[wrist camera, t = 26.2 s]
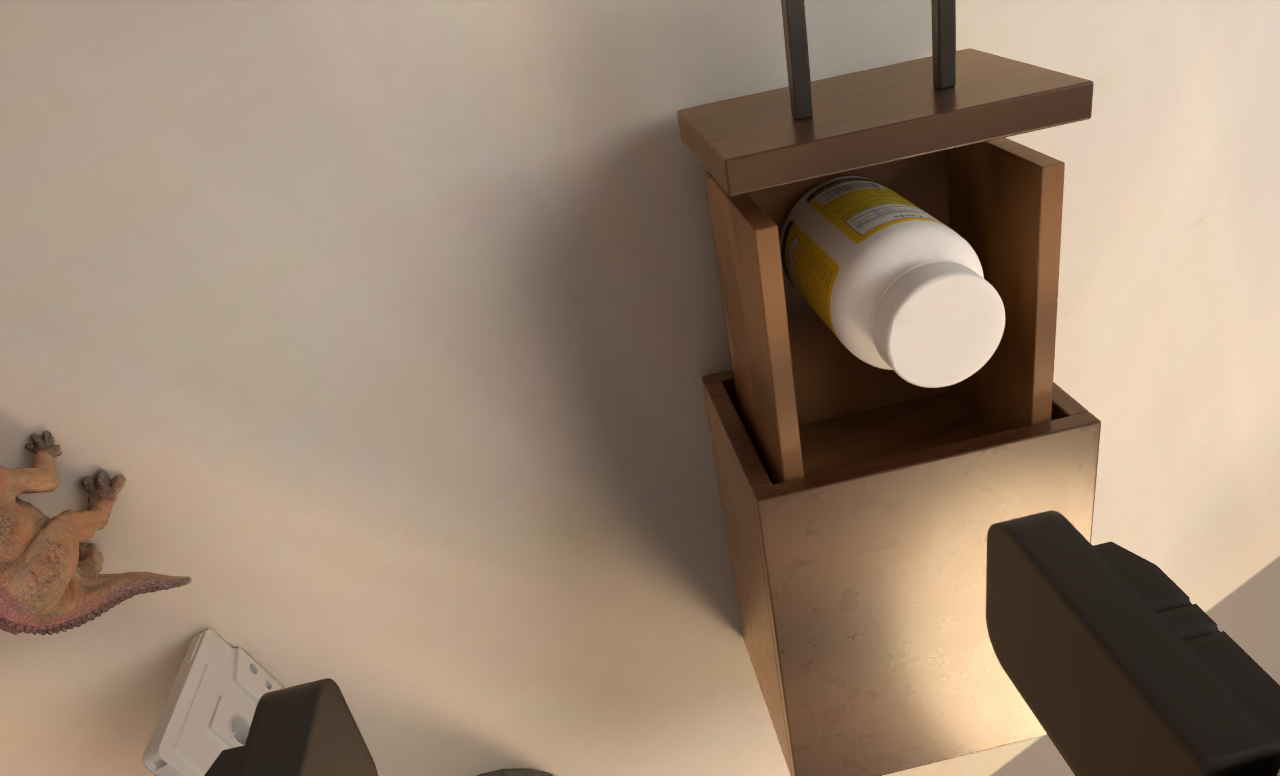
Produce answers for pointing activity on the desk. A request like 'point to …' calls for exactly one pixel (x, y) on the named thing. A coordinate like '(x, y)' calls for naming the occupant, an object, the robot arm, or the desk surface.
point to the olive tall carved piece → (516, 773)
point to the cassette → (206, 707)
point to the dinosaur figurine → (59, 552)
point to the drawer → (922, 174)
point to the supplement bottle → (892, 282)
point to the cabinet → (888, 586)
